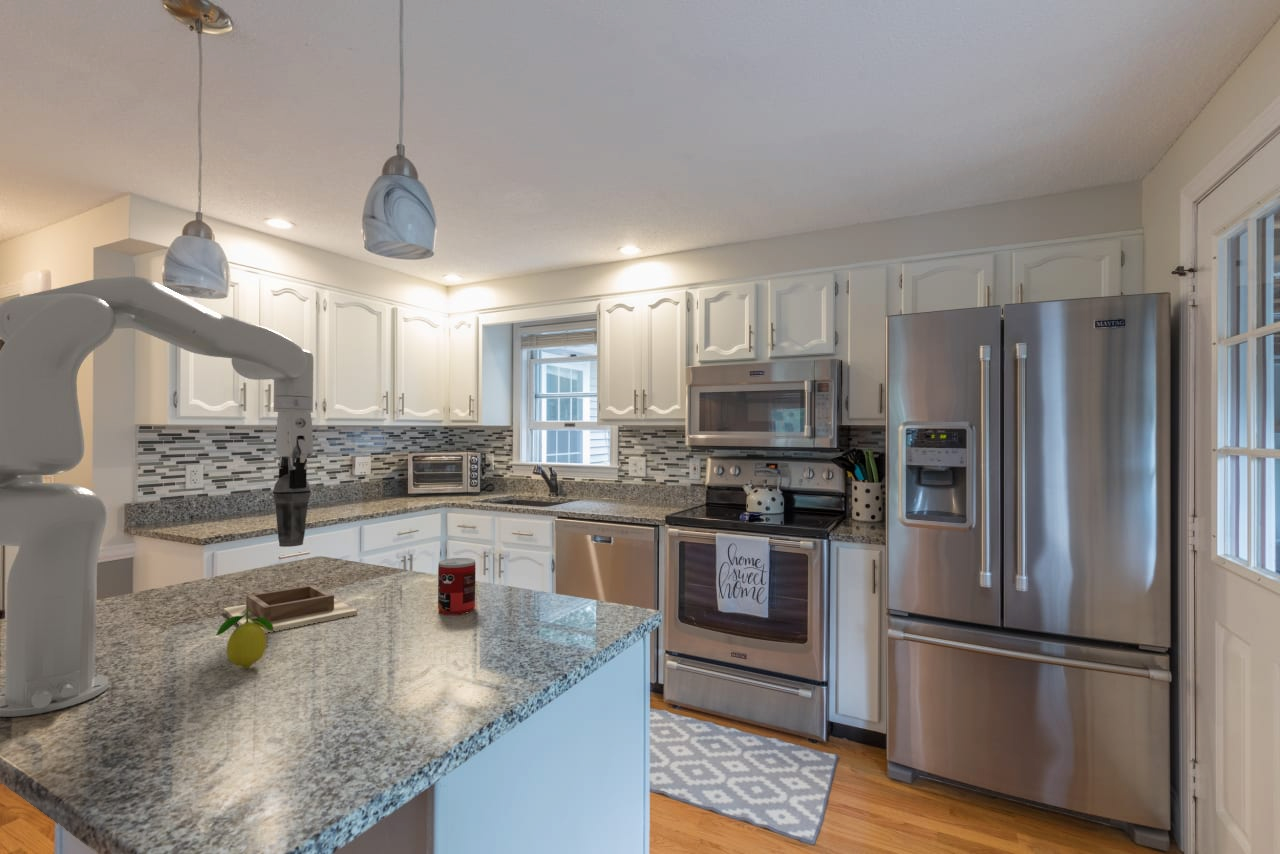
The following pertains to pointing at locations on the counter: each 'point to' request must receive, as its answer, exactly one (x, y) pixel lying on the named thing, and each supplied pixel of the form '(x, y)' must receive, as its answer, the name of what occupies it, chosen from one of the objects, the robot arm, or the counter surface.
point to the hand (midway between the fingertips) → (292, 486)
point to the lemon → (246, 640)
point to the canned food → (456, 585)
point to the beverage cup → (290, 511)
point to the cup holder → (291, 607)
